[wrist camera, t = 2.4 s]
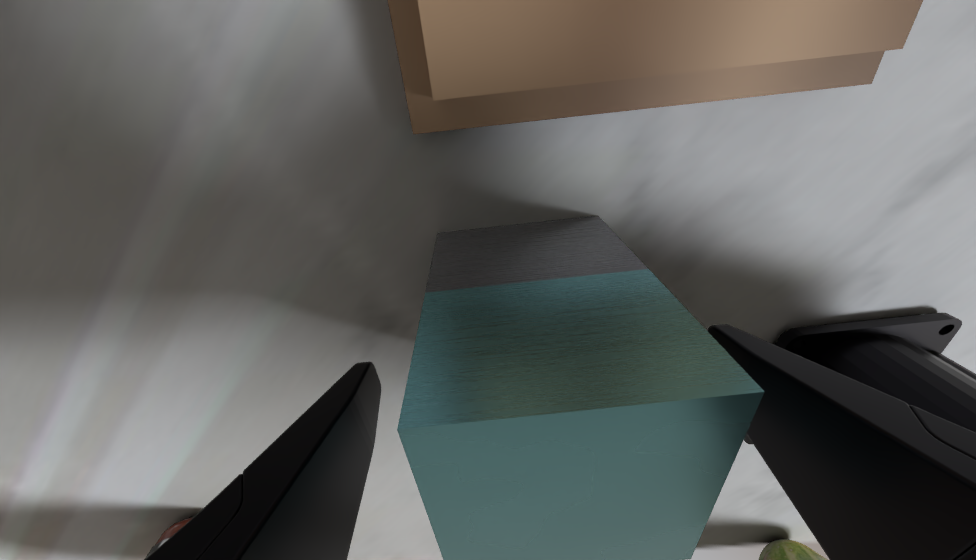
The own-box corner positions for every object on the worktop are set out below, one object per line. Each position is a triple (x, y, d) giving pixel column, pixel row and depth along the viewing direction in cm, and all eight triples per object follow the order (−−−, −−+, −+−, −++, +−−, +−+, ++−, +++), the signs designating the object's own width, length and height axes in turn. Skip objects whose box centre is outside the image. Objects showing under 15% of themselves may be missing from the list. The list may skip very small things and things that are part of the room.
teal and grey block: (597, 215, 11) (764, 391, 5) (589, 339, 13) (690, 559, 7) (437, 232, 11) (397, 429, 5) (459, 353, 13) (451, 582, 7)
